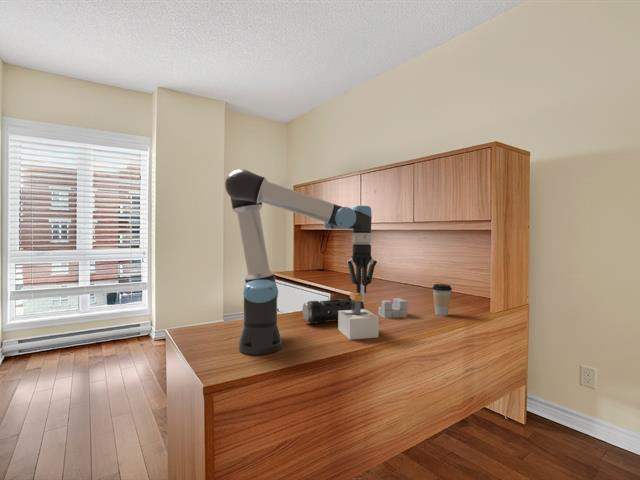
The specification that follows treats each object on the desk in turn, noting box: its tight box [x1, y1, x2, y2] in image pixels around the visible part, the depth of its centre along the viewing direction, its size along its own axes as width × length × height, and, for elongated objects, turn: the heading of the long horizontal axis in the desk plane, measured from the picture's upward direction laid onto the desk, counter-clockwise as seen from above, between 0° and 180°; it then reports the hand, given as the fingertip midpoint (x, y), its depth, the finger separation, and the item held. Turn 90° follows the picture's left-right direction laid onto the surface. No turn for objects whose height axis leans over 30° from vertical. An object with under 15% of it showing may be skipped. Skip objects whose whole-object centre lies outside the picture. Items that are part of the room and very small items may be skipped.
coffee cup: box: [431, 283, 453, 317], centre depth 165 cm, size 9×9×15 cm
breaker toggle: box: [349, 292, 362, 314], centre depth 134 cm, size 3×6×8 cm, turn 16°
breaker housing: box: [337, 308, 380, 340], centre depth 134 cm, size 12×14×8 cm
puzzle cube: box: [377, 297, 408, 319], centre depth 166 cm, size 12×12×8 cm
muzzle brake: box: [301, 298, 365, 324], centre depth 152 cm, size 10×28×10 cm, turn 113°
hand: (361, 301), depth 134 cm, fingers closed
